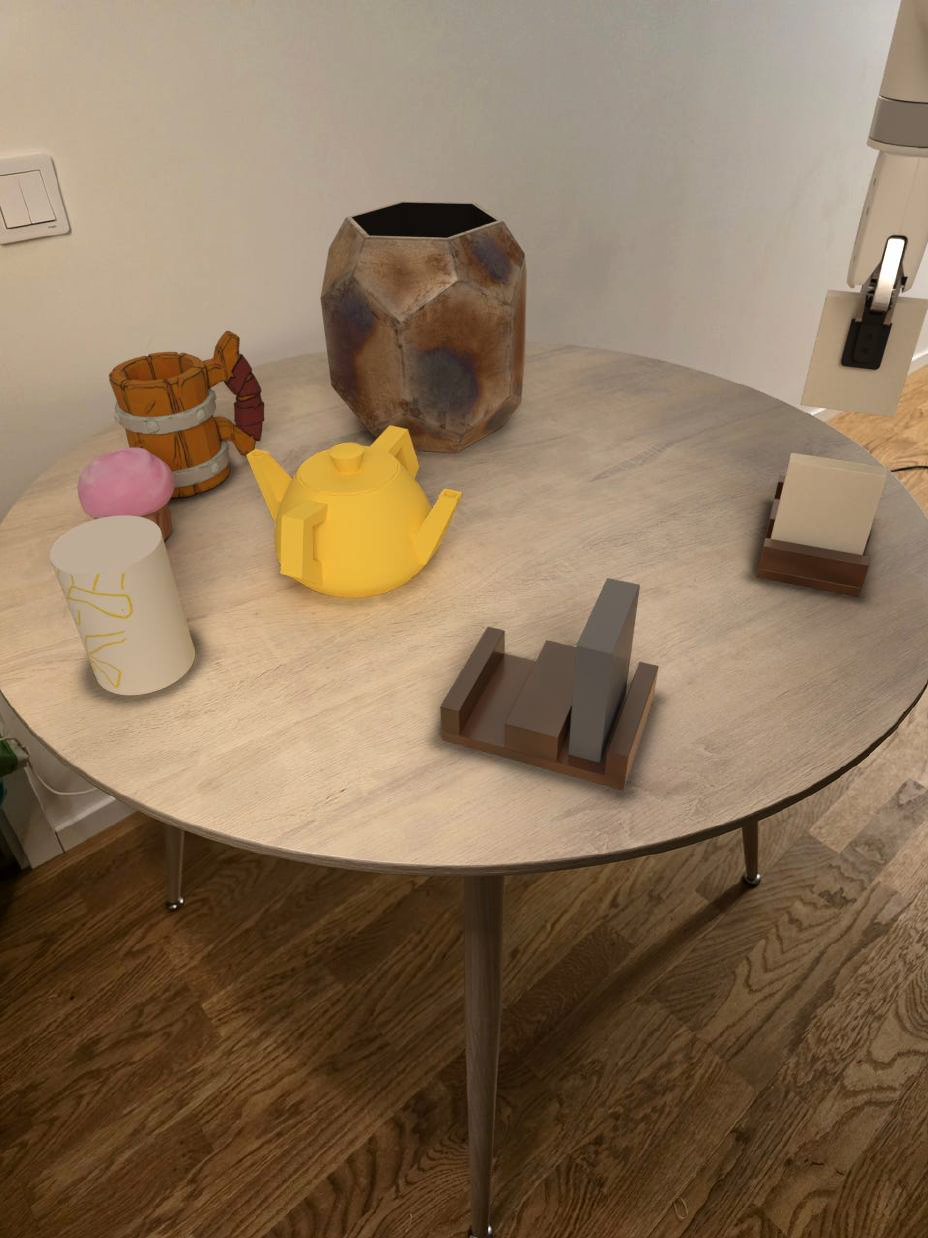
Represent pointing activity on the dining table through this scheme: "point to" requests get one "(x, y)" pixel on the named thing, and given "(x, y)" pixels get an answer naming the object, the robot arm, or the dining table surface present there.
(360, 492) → the teapot
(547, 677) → the rack
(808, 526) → the white book
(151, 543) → the cup
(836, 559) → the rack
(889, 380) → the white book
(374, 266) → the planter
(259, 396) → the mug
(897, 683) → the dining table surface
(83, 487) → the cupcake
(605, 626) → the grey book
